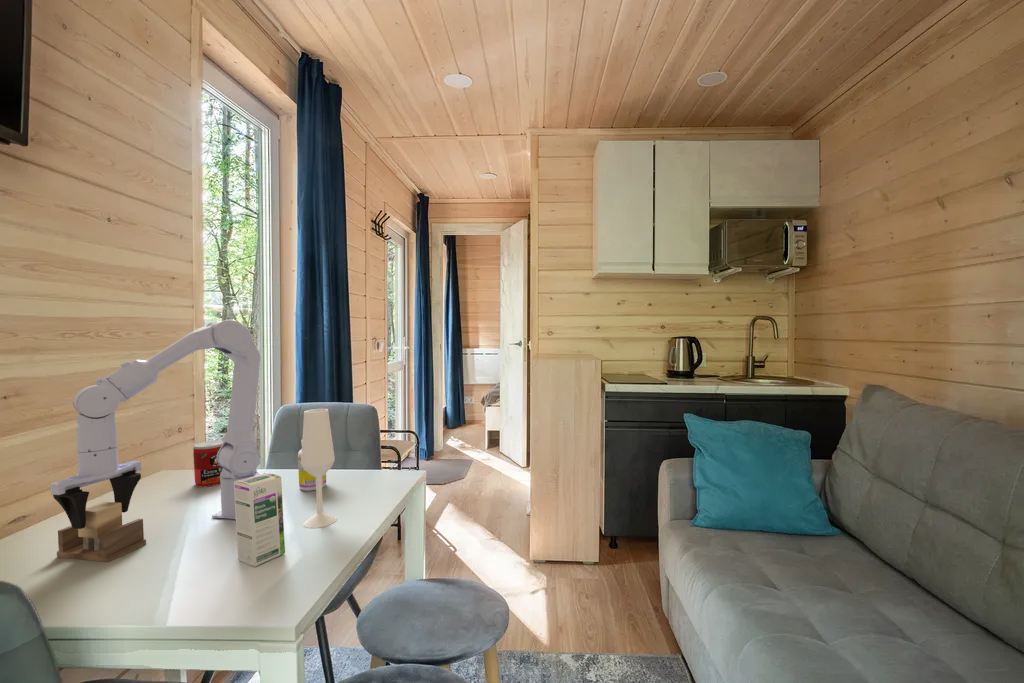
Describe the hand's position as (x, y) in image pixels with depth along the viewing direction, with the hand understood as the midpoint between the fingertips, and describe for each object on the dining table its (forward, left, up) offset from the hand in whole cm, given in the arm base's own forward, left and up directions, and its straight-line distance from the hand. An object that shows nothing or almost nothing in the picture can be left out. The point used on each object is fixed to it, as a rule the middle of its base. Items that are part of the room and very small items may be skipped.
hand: (101, 519), depth 88 cm
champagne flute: (-34, -18, -6) cm, 39 cm away
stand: (0, 0, -6) cm, 6 cm away
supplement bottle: (-18, -38, -6) cm, 43 cm away
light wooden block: (0, 0, -2) cm, 3 cm away
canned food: (+14, -38, -6) cm, 41 cm away
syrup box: (-33, -2, -6) cm, 34 cm away
